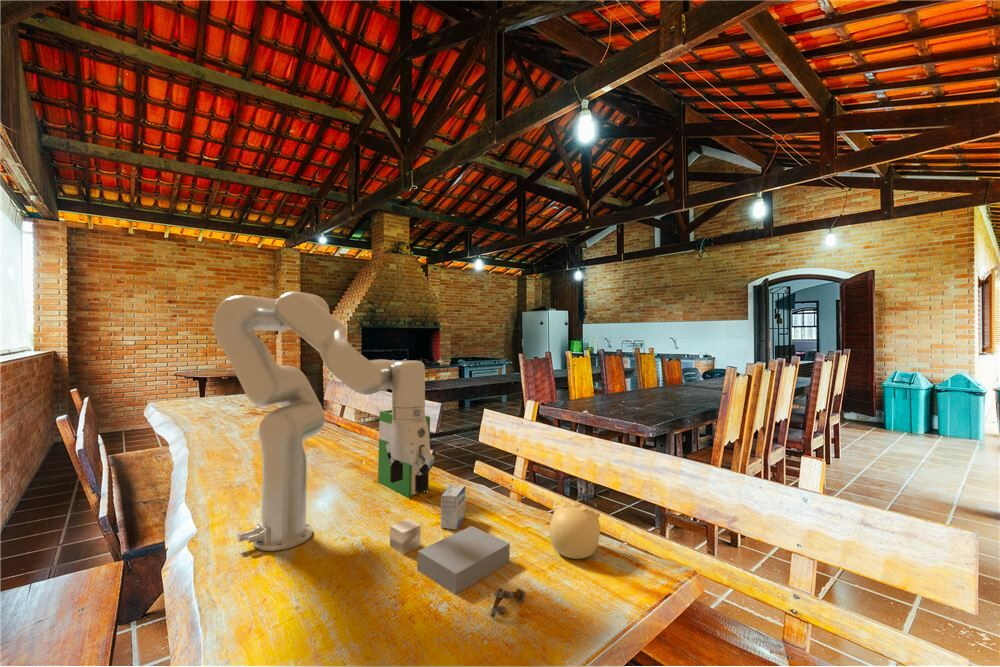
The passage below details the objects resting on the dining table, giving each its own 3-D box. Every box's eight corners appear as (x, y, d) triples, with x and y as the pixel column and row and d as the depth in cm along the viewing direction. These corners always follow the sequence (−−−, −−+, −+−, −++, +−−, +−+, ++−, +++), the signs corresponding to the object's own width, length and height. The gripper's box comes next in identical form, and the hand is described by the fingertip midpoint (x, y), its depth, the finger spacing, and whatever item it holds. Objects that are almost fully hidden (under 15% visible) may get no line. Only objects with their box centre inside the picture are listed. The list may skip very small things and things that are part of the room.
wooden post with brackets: (485, 614, 72) (492, 586, 74) (512, 612, 78) (518, 586, 79) (492, 619, 71) (499, 590, 72) (519, 617, 76) (525, 590, 78)
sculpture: (601, 543, 100) (602, 499, 100) (596, 569, 88) (597, 519, 88) (555, 535, 103) (555, 492, 103) (544, 559, 92) (545, 511, 92)
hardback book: (428, 492, 129) (430, 416, 129) (408, 499, 124) (410, 419, 124) (397, 478, 141) (398, 408, 141) (377, 483, 136) (379, 411, 136)
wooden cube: (402, 554, 93) (402, 532, 93) (389, 546, 96) (390, 525, 96) (420, 546, 97) (420, 525, 97) (407, 539, 100) (407, 518, 100)
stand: (455, 594, 79) (456, 573, 79) (417, 570, 87) (417, 551, 87) (509, 561, 91) (509, 543, 91) (471, 542, 99) (471, 525, 99)
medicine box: (456, 530, 105) (457, 496, 105) (440, 528, 106) (440, 494, 106) (465, 517, 112) (466, 485, 112) (449, 515, 113) (450, 484, 113)
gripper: (445, 415, 94) (445, 490, 93) (400, 406, 105) (400, 473, 105) (418, 420, 88) (418, 500, 88) (374, 411, 99) (374, 481, 99)
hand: (408, 485), depth 96 cm, fingers open, 9 cm apart
